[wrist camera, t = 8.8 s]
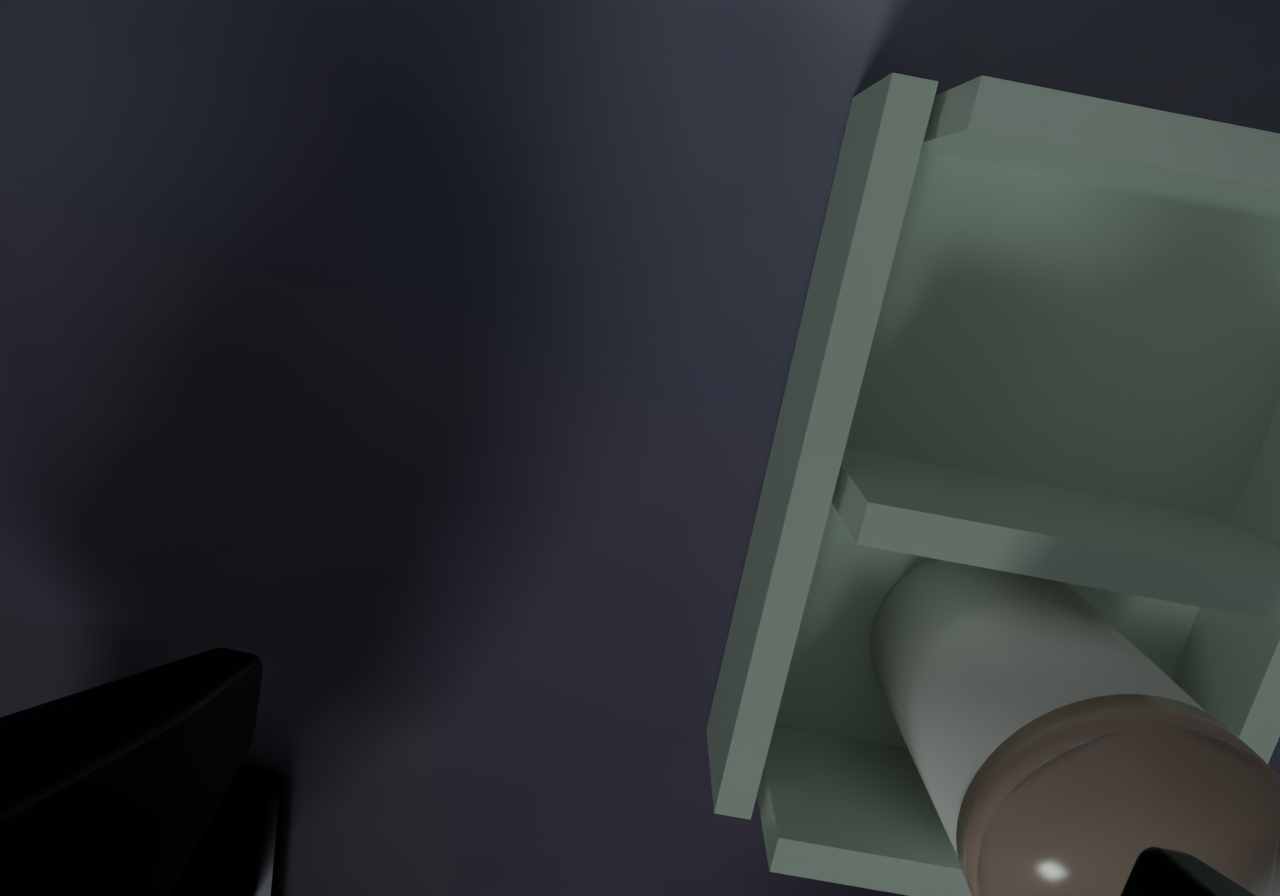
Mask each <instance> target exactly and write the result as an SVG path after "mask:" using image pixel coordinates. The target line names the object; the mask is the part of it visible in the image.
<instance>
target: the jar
mask: <svg viewBox="0 0 1280 896" xmlns="http://www.w3.org/2000/svg"><path fill="white" fill-rule="evenodd" d="M870 656H871V664H872V668H873V672H874V675H875V677H876V679H877V682H878V684H879V686H880V689H881V691H882V693H883V695H884V697H885V700H886V702H887V704H888V706H889V708H890V710H891V713H892V715H893V717H894V719H895V721H896V723H897V726H898V728H899V730H900V732H901V734H902V736H903V739H904V741H905V743H906V745H907V747H908V750H909V752H910V754H911V756H912V758H913V760H914V763H915V765H916V767H917V769H918V771H919V773H920V776H921V778H922V780H923V782H924V784H925V787H926V789H927V791H928V793H929V795H930V797H931V800H932V802H933V804H934V806H935V808H936V810H937V813H938V815H939V817H940V819H941V821H942V824H943V826H944V828H945V830H946V832H947V834H948V837H949V839H950V841H951V843H952V845H953V847H954V850H955V852H956V854H957V856H958V859H959V864H960V868H961V871H962V873H963V876H964V878H965V880H966V883H967V885H968V887H969V890H970V892H971V894H972V896H1120V895H1121V893H1122V890H1123V888H1124V886H1125V884H1126V881H1127V879H1128V877H1129V875H1130V872H1131V870H1132V868H1133V866H1134V863H1135V861H1136V859H1137V857H1138V855H1139V854H1140V853H1141V852H1142V851H1143V850H1144V849H1146V848H1149V847H1160V848H1165V849H1170V850H1175V851H1179V852H1184V853H1187V854H1190V855H1192V856H1194V857H1196V858H1198V859H1199V860H1201V861H1202V862H1204V863H1205V864H1207V865H1209V866H1210V867H1212V868H1213V869H1215V870H1216V871H1218V872H1220V873H1221V874H1223V875H1224V876H1226V877H1227V878H1229V879H1230V880H1232V881H1234V882H1235V883H1237V884H1238V885H1240V886H1241V887H1243V888H1245V889H1246V890H1248V891H1249V892H1251V893H1252V894H1254V895H1255V896H1280V778H1279V776H1278V775H1277V774H1276V772H1275V771H1274V770H1273V769H1272V768H1271V767H1270V766H1269V765H1268V764H1267V763H1266V762H1265V761H1264V760H1263V759H1262V758H1261V757H1260V756H1259V755H1258V754H1256V753H1255V752H1254V751H1253V750H1252V749H1251V748H1250V747H1249V746H1248V745H1247V744H1246V743H1244V742H1243V741H1242V740H1241V739H1240V738H1239V737H1238V736H1237V735H1236V734H1235V733H1234V732H1233V731H1231V730H1230V729H1229V728H1228V727H1227V726H1225V725H1224V724H1223V723H1221V722H1220V721H1219V720H1217V719H1216V718H1215V717H1213V716H1211V715H1210V714H1208V713H1207V712H1206V711H1205V710H1204V709H1203V708H1202V707H1201V706H1200V705H1198V704H1197V703H1196V702H1195V701H1194V700H1193V699H1192V698H1191V697H1190V696H1189V695H1188V694H1187V693H1185V692H1184V691H1183V690H1182V689H1181V688H1180V687H1179V686H1178V685H1177V684H1176V683H1175V682H1174V681H1173V680H1171V679H1170V678H1169V677H1168V676H1167V675H1166V674H1165V673H1164V672H1163V671H1162V670H1161V669H1160V668H1158V667H1157V666H1156V665H1155V664H1154V663H1153V662H1152V661H1151V660H1150V659H1149V658H1148V657H1147V656H1146V655H1144V654H1143V653H1142V652H1141V651H1140V650H1139V649H1138V648H1137V647H1136V646H1135V645H1134V644H1133V643H1131V642H1130V641H1129V640H1128V639H1127V638H1126V637H1125V636H1124V635H1123V634H1122V633H1121V632H1120V631H1119V630H1117V629H1116V628H1115V627H1114V626H1113V625H1112V624H1111V623H1110V622H1109V621H1108V620H1107V619H1106V618H1104V617H1103V616H1102V615H1101V614H1100V613H1099V612H1098V611H1097V610H1096V609H1095V608H1094V607H1093V606H1091V605H1090V604H1089V603H1088V602H1087V601H1086V600H1085V599H1084V598H1083V597H1082V596H1081V595H1080V594H1079V593H1077V592H1076V591H1075V590H1074V589H1073V588H1072V587H1071V586H1070V585H1069V584H1068V583H1065V582H1060V581H1054V580H1049V579H1043V578H1038V577H1032V576H1027V575H1021V574H1016V573H1010V572H1005V571H999V570H994V569H988V568H983V567H977V566H972V565H966V564H961V563H955V562H950V561H944V560H939V559H934V558H930V559H928V560H926V561H925V562H923V563H921V564H920V565H918V566H917V567H915V568H914V569H912V570H911V571H910V572H908V573H907V574H906V575H905V576H904V577H903V578H902V579H900V580H899V581H898V583H897V584H896V585H895V586H894V587H893V588H892V589H891V591H890V592H889V593H888V595H887V596H886V598H885V599H884V601H883V602H882V604H881V606H880V608H879V610H878V612H877V615H876V618H875V621H874V623H873V627H872V632H871V637H870Z"/></svg>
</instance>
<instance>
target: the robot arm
mask: <svg viewBox="0 0 1280 896" xmlns="http://www.w3.org/2000/svg"><path fill="white" fill-rule="evenodd" d="M262 670H263V669H262V662H261V660H260V658H259V657H258V656H256V655H254V654H250V653H245V652H241V651H236V650H231V649H227V648H215V649H212V650H209V651H206V652H203V653H199V654H196V655H193V656H190V657H187V658H184V659H181V660H178V661H175V662H172V663H168V664H165V665H162V666H159V667H156V668H153V669H150V670H147V671H144V672H140V673H137V674H134V675H131V676H128V677H125V678H122V679H119V680H116V681H113V682H109V683H106V684H103V685H100V686H97V687H94V688H91V689H88V690H85V691H81V692H78V693H75V694H72V695H69V696H66V697H63V698H60V699H57V700H54V701H50V702H47V703H44V704H41V705H38V706H35V707H32V708H29V709H26V710H22V711H19V712H16V713H13V714H10V715H7V716H4V717H1V718H0V896H276V891H277V879H278V868H279V857H280V846H281V835H282V823H283V812H284V801H285V783H284V782H283V780H282V779H281V777H280V776H278V775H277V774H276V773H274V772H271V771H268V770H264V769H258V768H252V767H246V766H241V764H242V762H243V761H244V759H245V757H246V755H247V753H248V750H249V748H250V745H251V742H252V739H253V735H254V731H255V724H256V717H257V709H258V702H259V694H260V687H261V679H262ZM257 788H261V789H263V790H265V791H266V792H267V793H268V795H263V794H261V793H260V792H259V791H258V790H257ZM1120 896H1255V895H1254V894H1252V893H1251V892H1249V891H1248V890H1246V889H1245V888H1243V887H1241V886H1240V885H1238V884H1237V883H1235V882H1234V881H1232V880H1230V879H1229V878H1227V877H1226V876H1224V875H1223V874H1221V873H1220V872H1218V871H1216V870H1215V869H1213V868H1212V867H1210V866H1209V865H1207V864H1205V863H1204V862H1202V861H1201V860H1199V859H1198V858H1196V857H1194V856H1192V855H1190V854H1187V853H1184V852H1179V851H1175V850H1170V849H1165V848H1160V847H1149V848H1146V849H1144V850H1143V851H1142V852H1141V853H1140V854H1139V855H1138V857H1137V859H1136V861H1135V863H1134V866H1133V868H1132V870H1131V872H1130V875H1129V877H1128V879H1127V881H1126V884H1125V886H1124V888H1123V890H1122V893H1121V895H1120Z"/></svg>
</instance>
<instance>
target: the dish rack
mask: <svg viewBox="0 0 1280 896" xmlns="http://www.w3.org/2000/svg"><path fill="white" fill-rule="evenodd" d="M938 82H939V81H934V80H928V79H923V78H918V77H913V76H908V75H903V74H898V73H891V74H890V75H888V76H886V77H885V78H883V79H882V80H880V81H878V82H877V83H875V84H874V85H872V86H870V87H869V88H867V89H865V90H864V91H862V92H861V93H859V94H857V95H856V96H854V97H853V99H852V103H851V108H850V112H849V116H848V120H847V125H846V129H845V133H844V138H843V142H842V146H841V151H840V155H839V159H838V164H837V168H836V172H835V177H834V181H833V185H832V190H831V194H830V198H829V202H828V207H827V211H826V215H825V220H824V224H823V228H822V233H821V237H820V241H819V246H818V250H817V254H816V259H815V263H814V267H813V271H812V276H811V280H810V284H809V289H808V293H807V297H806V302H805V306H804V310H803V315H802V319H801V323H800V328H799V332H798V336H797V341H796V345H795V349H794V353H793V358H792V362H791V366H790V371H789V375H788V379H787V384H786V388H785V392H784V397H783V401H782V405H781V410H780V414H779V418H778V423H777V427H776V431H775V435H774V440H773V444H772V448H771V453H770V457H769V461H768V466H767V470H766V474H765V479H764V483H763V487H762V492H761V496H760V500H759V504H758V509H757V513H756V517H755V522H754V526H753V530H752V535H751V539H750V543H749V548H748V552H747V556H746V561H745V565H744V569H743V574H742V578H741V582H740V586H739V591H738V595H737V599H736V604H735V608H734V612H733V617H732V621H731V625H730V630H729V634H728V638H727V643H726V647H725V651H724V655H723V660H722V664H721V668H720V673H719V677H718V681H717V686H716V690H715V694H714V699H713V703H712V707H711V712H710V716H709V720H708V725H707V739H708V750H709V761H710V773H711V784H712V796H713V807H714V813H715V814H721V815H727V816H733V817H738V818H744V819H750V820H751V816H752V812H753V808H754V804H755V800H756V796H757V798H758V804H759V810H760V816H761V822H762V828H763V834H764V841H765V847H766V853H767V859H768V865H769V871H770V872H775V873H781V874H786V875H792V876H798V877H804V878H809V879H815V880H821V881H827V882H833V883H838V884H844V885H850V886H856V887H862V888H867V889H873V890H879V891H885V892H890V893H896V894H902V895H908V896H972V894H971V892H970V890H969V887H968V885H967V883H966V880H965V878H964V876H963V873H962V871H961V868H960V864H959V859H958V856H957V854H956V852H955V850H954V847H953V845H952V843H951V841H950V839H949V837H948V834H947V832H946V830H945V828H944V826H943V824H942V821H941V819H940V817H939V815H938V813H937V810H936V808H935V806H934V804H933V802H932V800H931V797H930V795H929V793H928V791H927V789H926V787H925V784H924V782H923V780H922V778H921V776H920V773H919V771H918V769H917V767H916V765H915V763H914V760H913V758H912V756H911V754H910V752H909V750H908V747H907V745H906V743H905V741H904V739H903V736H902V734H901V732H900V730H899V728H898V726H897V723H896V721H895V719H894V717H893V715H892V713H891V710H890V708H889V706H888V704H887V702H886V700H885V697H884V695H883V693H882V691H881V689H880V686H879V684H878V682H877V679H876V677H875V675H874V672H873V668H872V664H871V656H870V637H871V632H872V627H873V623H874V621H875V618H876V615H877V612H878V610H879V608H880V606H881V604H882V602H883V601H884V599H885V598H886V596H887V595H888V593H889V592H890V591H891V589H892V588H893V587H894V586H895V585H896V584H897V583H898V581H899V580H900V579H902V578H903V577H904V576H905V575H906V574H907V573H908V572H910V571H911V570H912V569H914V568H915V567H917V566H918V565H920V564H921V563H923V562H925V561H926V560H928V559H930V558H934V559H939V560H944V561H950V562H955V563H961V564H966V565H972V566H977V567H983V568H988V569H994V570H999V571H1005V572H1010V573H1016V574H1021V575H1027V576H1032V577H1038V578H1043V579H1049V580H1054V581H1060V582H1065V583H1068V584H1069V585H1070V586H1071V587H1072V588H1073V589H1074V590H1075V591H1076V592H1077V593H1079V594H1080V595H1081V596H1082V597H1083V598H1084V599H1085V600H1086V601H1087V602H1088V603H1089V604H1090V605H1091V606H1093V607H1094V608H1095V609H1096V610H1097V611H1098V612H1099V613H1100V614H1101V615H1102V616H1103V617H1104V618H1106V619H1107V620H1108V621H1109V622H1110V623H1111V624H1112V625H1113V626H1114V627H1115V628H1116V629H1117V630H1119V631H1120V632H1121V633H1122V634H1123V635H1124V636H1125V637H1126V638H1127V639H1128V640H1129V641H1130V642H1131V643H1133V644H1134V645H1135V646H1136V647H1137V648H1138V649H1139V650H1140V651H1141V652H1142V653H1143V654H1144V655H1146V656H1147V657H1148V658H1149V659H1150V660H1151V661H1152V662H1153V663H1154V664H1155V665H1156V666H1157V667H1158V668H1160V669H1161V670H1162V671H1163V672H1164V673H1165V674H1166V675H1167V676H1168V677H1169V678H1170V679H1171V680H1173V681H1174V682H1175V683H1176V684H1177V685H1178V686H1179V687H1180V688H1181V689H1182V690H1183V691H1184V692H1185V693H1187V694H1188V695H1189V696H1190V697H1191V698H1192V699H1193V700H1194V701H1195V702H1196V703H1197V704H1198V705H1200V706H1201V707H1202V708H1203V709H1204V710H1205V711H1206V712H1207V713H1208V714H1210V715H1211V716H1213V717H1215V718H1216V719H1217V720H1219V721H1220V722H1221V723H1223V724H1224V725H1225V726H1227V727H1228V728H1229V729H1230V730H1231V731H1233V732H1234V733H1235V734H1236V735H1237V736H1238V737H1239V738H1240V739H1241V740H1242V741H1243V742H1244V743H1246V744H1247V745H1248V746H1249V747H1250V748H1251V749H1252V750H1253V751H1254V752H1255V753H1256V754H1258V755H1259V756H1260V757H1261V758H1262V759H1263V760H1264V761H1265V762H1266V763H1267V764H1268V763H1269V760H1270V758H1271V756H1272V753H1273V751H1274V749H1275V746H1276V744H1277V742H1278V739H1279V737H1280V134H1279V133H1273V132H1268V131H1263V130H1258V129H1253V128H1248V127H1243V126H1238V125H1233V124H1228V123H1223V122H1217V121H1212V120H1207V119H1202V118H1197V117H1192V116H1187V115H1182V114H1177V113H1172V112H1166V111H1161V110H1156V109H1151V108H1146V107H1141V106H1136V105H1131V104H1126V103H1121V102H1116V101H1110V100H1105V99H1100V98H1095V97H1090V96H1085V95H1080V94H1075V93H1070V92H1065V91H1059V90H1054V89H1049V88H1044V87H1039V86H1034V85H1029V84H1024V83H1019V82H1014V81H1008V80H1003V79H998V78H993V77H988V76H983V75H981V76H979V77H977V78H974V79H972V80H970V81H968V82H965V83H963V84H961V85H959V86H956V87H954V88H952V89H949V90H947V91H945V92H943V93H940V94H938V95H936V96H935V94H936V90H937V86H938Z"/></svg>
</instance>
